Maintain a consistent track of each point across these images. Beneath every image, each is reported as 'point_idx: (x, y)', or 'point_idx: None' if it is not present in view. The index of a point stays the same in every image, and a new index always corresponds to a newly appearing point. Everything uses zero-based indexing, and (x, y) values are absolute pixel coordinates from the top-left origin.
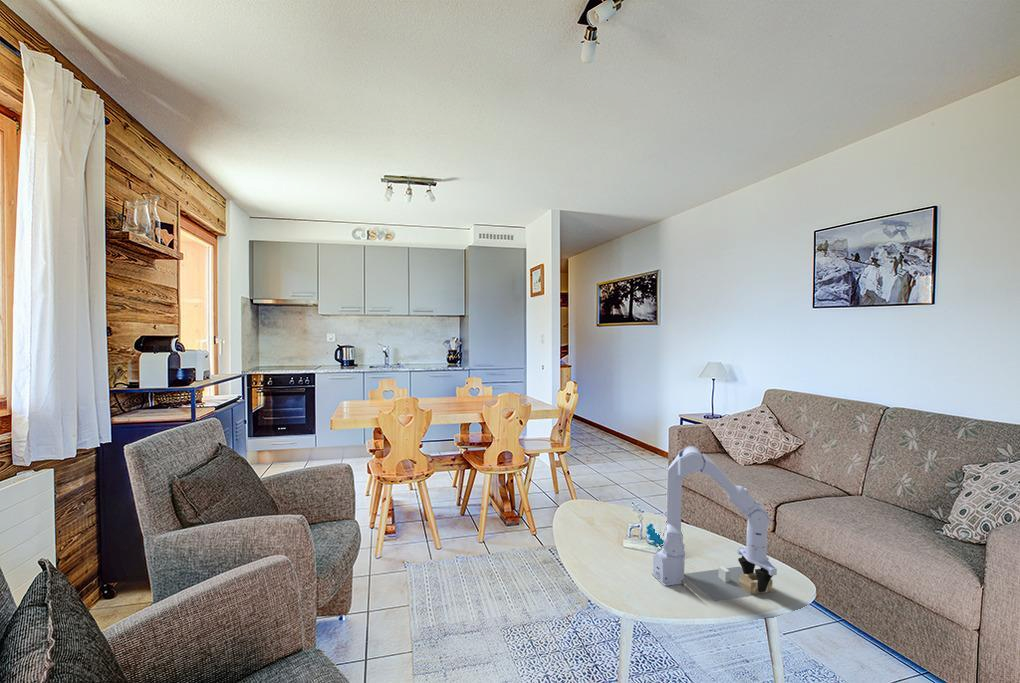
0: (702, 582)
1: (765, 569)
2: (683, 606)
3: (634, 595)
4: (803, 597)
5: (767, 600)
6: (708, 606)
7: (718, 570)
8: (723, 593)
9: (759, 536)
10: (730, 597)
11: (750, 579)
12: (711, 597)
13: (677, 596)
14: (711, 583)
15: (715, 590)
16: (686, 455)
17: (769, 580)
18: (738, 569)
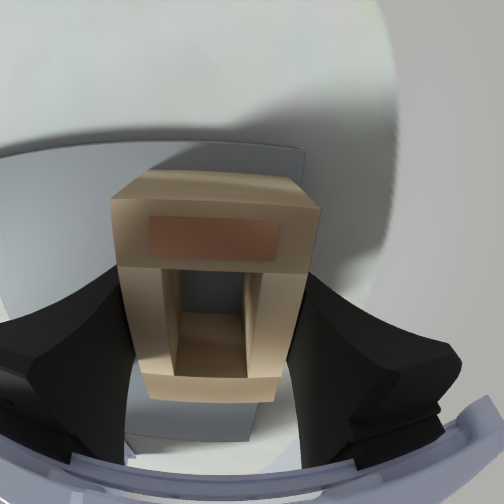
0: (125, 420)
1: (395, 464)
2: (230, 463)
3: None
4: (377, 11)
5: (319, 260)
6: (250, 441)
7: (14, 314)
8: (214, 415)
9: None
10: (248, 411)
11: (229, 382)
12: (227, 441)
13: (185, 458)
14: (132, 407)
15: (186, 421)
16: None
17: (360, 312)
18: None
